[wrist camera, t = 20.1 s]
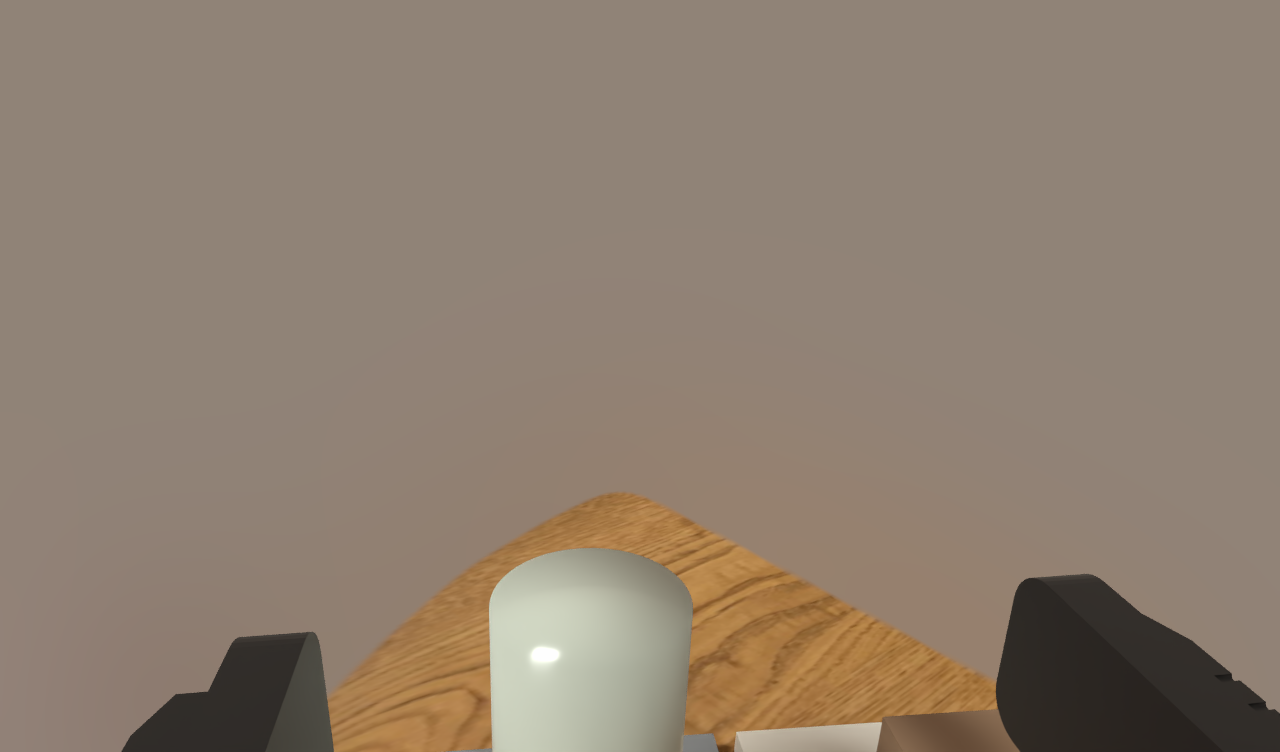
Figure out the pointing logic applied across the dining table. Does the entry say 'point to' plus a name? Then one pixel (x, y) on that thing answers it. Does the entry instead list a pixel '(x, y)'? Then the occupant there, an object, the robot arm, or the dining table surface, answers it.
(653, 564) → the pale green pillar candle
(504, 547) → the dining table surface
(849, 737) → the cream mat
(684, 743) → the slate mat
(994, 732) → the walnut block
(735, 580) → the dining table surface
